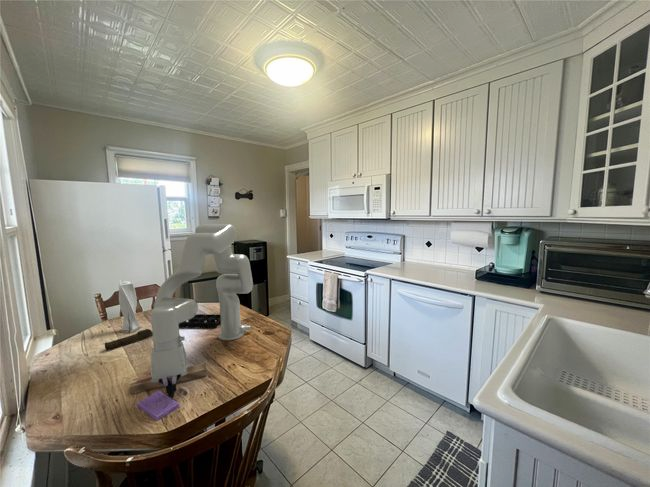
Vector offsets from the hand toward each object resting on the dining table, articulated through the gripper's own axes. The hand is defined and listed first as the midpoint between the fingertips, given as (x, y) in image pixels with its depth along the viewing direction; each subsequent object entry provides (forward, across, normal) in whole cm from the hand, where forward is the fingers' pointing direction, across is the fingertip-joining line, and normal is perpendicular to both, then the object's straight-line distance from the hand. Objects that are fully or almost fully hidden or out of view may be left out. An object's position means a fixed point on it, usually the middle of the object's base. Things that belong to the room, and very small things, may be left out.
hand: (171, 393), depth 91 cm
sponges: (+1, +4, +4) cm, 5 cm away
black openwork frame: (+1, -6, -63) cm, 63 cm away
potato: (+1, -1, -82) cm, 82 cm away
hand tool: (+1, +23, -52) cm, 57 cm away
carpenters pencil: (-2, +7, -10) cm, 13 cm away
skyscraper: (+1, +26, -70) cm, 75 cm away
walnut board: (+1, +1, -10) cm, 10 cm away
